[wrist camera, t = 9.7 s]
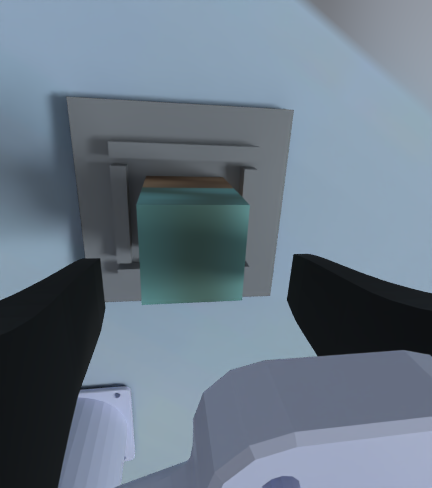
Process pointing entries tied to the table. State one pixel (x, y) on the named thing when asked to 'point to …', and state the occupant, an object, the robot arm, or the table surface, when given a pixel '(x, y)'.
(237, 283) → the block stack
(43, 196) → the table surface
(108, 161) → the plate
